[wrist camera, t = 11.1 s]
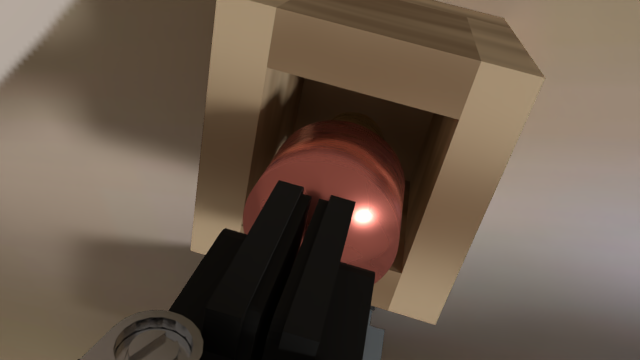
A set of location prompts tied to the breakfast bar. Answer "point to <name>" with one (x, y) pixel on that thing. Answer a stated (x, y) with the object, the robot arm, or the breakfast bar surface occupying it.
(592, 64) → the breakfast bar surface
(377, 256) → the button
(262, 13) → the small open wooden box
